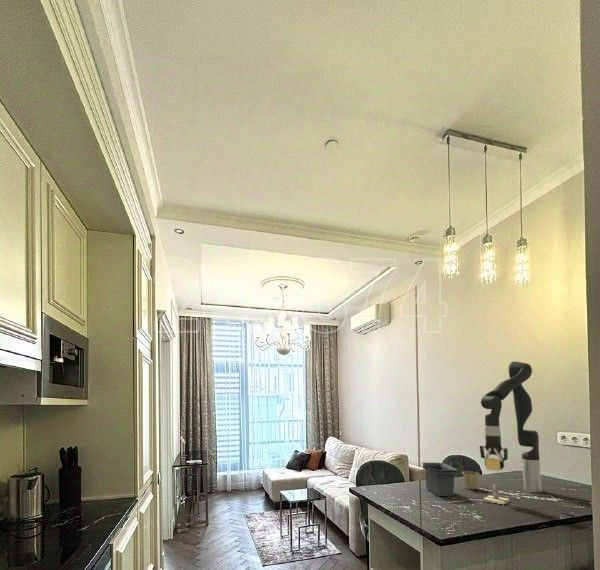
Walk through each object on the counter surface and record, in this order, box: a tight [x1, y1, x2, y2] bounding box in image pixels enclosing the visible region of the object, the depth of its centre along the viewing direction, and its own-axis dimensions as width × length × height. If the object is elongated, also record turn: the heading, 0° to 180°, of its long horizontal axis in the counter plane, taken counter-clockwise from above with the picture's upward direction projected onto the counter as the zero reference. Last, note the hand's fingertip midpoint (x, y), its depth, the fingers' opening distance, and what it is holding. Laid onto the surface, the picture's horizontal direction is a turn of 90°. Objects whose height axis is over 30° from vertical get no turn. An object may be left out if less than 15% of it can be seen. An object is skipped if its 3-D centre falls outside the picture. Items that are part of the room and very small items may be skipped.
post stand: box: [482, 484, 510, 506], centre depth 249 cm, size 10×10×8 cm
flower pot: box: [462, 471, 480, 491], centre depth 277 cm, size 9×9×9 cm
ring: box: [485, 457, 504, 472], centre depth 252 cm, size 7×7×5 cm
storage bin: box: [421, 462, 458, 497], centre depth 266 cm, size 21×16×14 cm
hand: (494, 467), depth 251 cm, fingers closed on ring, 6 cm apart
